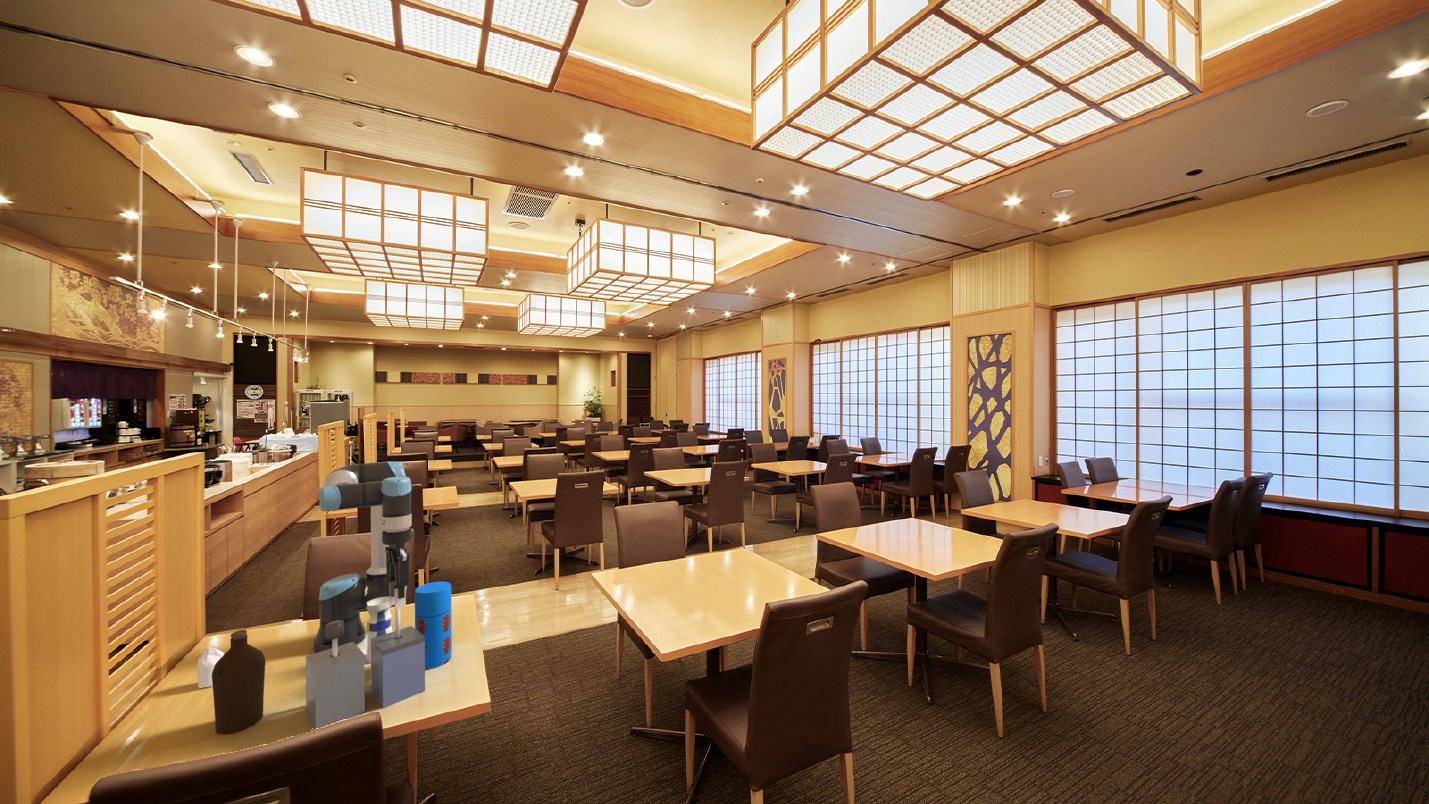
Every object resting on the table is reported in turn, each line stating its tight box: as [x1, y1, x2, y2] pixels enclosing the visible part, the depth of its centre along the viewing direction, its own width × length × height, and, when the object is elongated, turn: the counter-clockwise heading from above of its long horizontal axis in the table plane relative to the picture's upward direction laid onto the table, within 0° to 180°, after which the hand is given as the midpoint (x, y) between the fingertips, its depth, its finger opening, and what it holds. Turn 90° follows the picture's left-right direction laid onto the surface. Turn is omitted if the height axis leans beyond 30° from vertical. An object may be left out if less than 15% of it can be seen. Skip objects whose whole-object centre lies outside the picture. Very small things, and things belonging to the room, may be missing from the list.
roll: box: [196, 646, 225, 687], centre depth 155 cm, size 6×12×6 cm
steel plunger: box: [326, 620, 344, 658], centre depth 140 cm, size 8×8×20 cm
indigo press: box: [370, 625, 426, 709], centre depth 151 cm, size 15×11×16 cm
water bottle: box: [365, 586, 393, 664], centre depth 171 cm, size 8×9×25 cm
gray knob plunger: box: [389, 581, 401, 640], centre depth 150 cm, size 8×8×20 cm
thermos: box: [414, 581, 453, 670], centre depth 168 cm, size 11×11×25 cm
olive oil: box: [212, 629, 266, 735], centre depth 136 cm, size 11×11×25 cm
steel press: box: [305, 642, 366, 730], centre depth 141 cm, size 15×11×16 cm
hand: (397, 606), depth 150 cm, fingers closed on gray knob plunger, 4 cm apart
